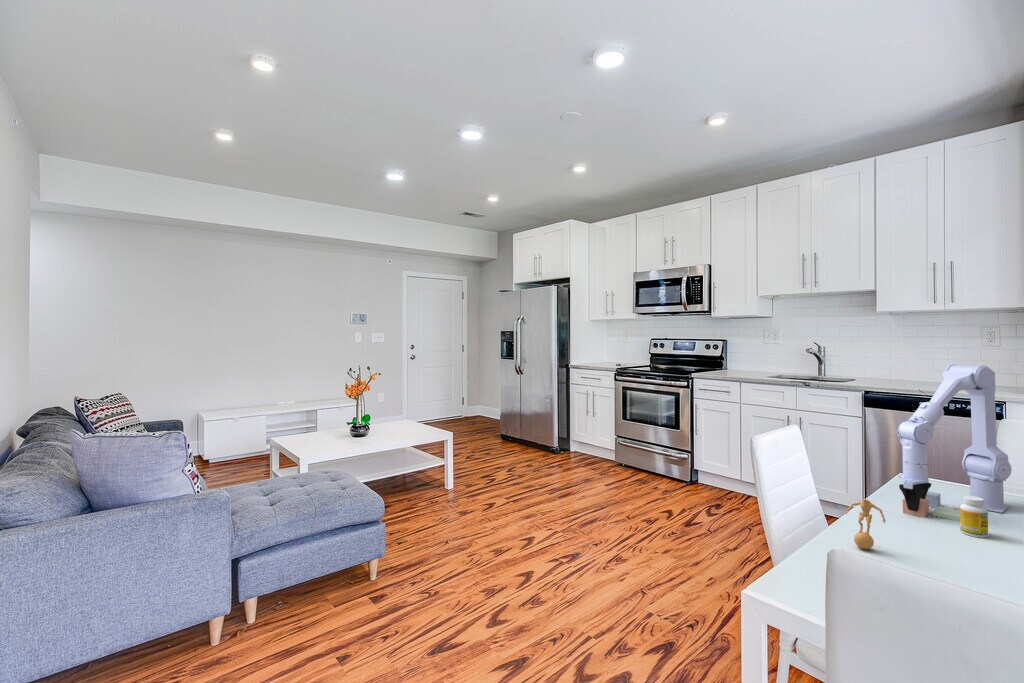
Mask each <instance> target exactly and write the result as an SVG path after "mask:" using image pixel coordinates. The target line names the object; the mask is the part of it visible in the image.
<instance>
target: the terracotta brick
mask: <svg viewBox="0 0 1024 683" xmlns="http://www.w3.org/2000/svg"><path fill="white" fill-rule="evenodd" d="M902 513H903V514H906V513H907V515H911V514H912V515H913V516H915V515H916V517H920V516H921V518H926V517H925V516H927V517H928V515H929V514H930V508H929V500H926V499H921V498H920V504H919V509H918V511H917V512H916V511H912V510H908V507H907V504H906V500H905V497H904V498H903V499H902Z"/></svg>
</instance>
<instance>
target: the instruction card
mask: <svg viewBox="0 0 1024 683" xmlns="http://www.w3.org/2000/svg"><path fill="white" fill-rule="evenodd" d="M944 507H945V508H950V509H955V510H960V507H955V506H951V505H945V506H944Z"/></svg>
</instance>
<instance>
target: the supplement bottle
mask: <svg viewBox="0 0 1024 683" xmlns="http://www.w3.org/2000/svg"><path fill="white" fill-rule="evenodd" d="M962 501H963V503H961V504H960V506H959V508H960V521H959V524H960V527H959V528H960V533H962V534H963V533H964V534H963V535H965V534H966V536H968V535H969V536H968V537H972V536H973V537H974V538H978V537H980V539H985V537H986V538H988V537H989V517H988V516H989V512H988V511H989V510H987V509H986V508H985V507H983V505H984V499H982V498H979V497H974V496H971V495H963V497H962Z"/></svg>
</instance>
